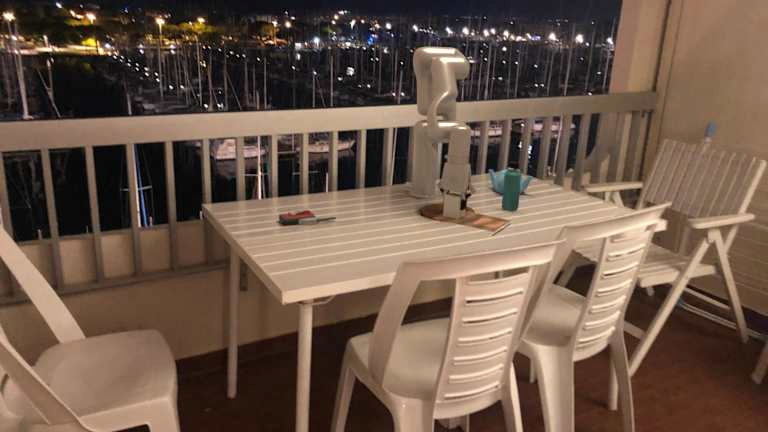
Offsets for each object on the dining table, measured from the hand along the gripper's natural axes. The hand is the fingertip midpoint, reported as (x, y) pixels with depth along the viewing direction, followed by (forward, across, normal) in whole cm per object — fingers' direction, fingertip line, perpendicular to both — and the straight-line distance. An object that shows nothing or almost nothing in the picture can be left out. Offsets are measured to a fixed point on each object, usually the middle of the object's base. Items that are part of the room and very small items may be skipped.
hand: (454, 207), depth 222 cm
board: (+5, +7, 0) cm, 8 cm away
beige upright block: (+3, 0, 0) cm, 3 cm away
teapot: (+5, +1, +52) cm, 52 cm away
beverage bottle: (+5, +13, +22) cm, 26 cm away
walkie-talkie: (+5, -40, -36) cm, 54 cm away
